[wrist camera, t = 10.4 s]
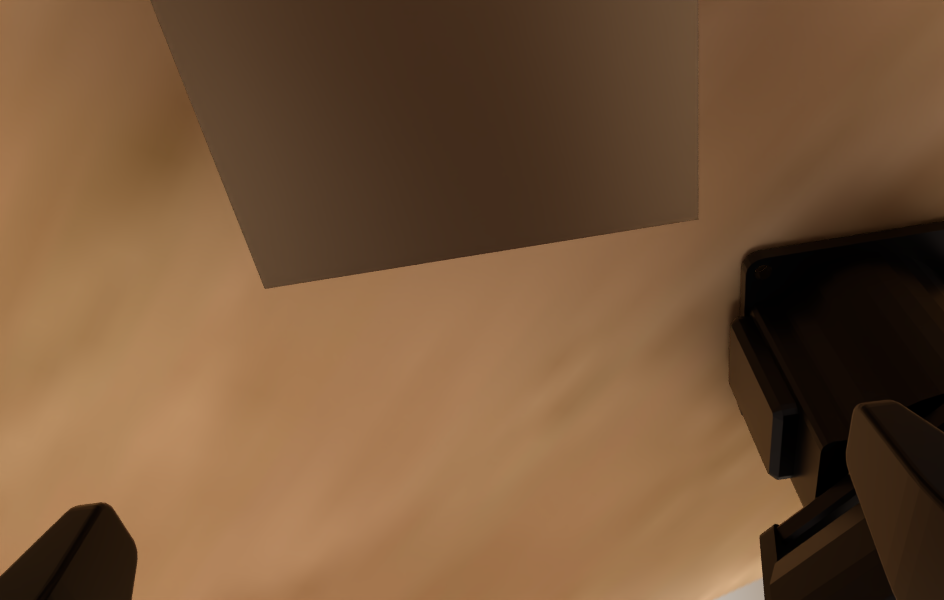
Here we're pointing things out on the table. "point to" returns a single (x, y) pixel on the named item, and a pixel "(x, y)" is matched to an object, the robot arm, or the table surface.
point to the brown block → (439, 123)
